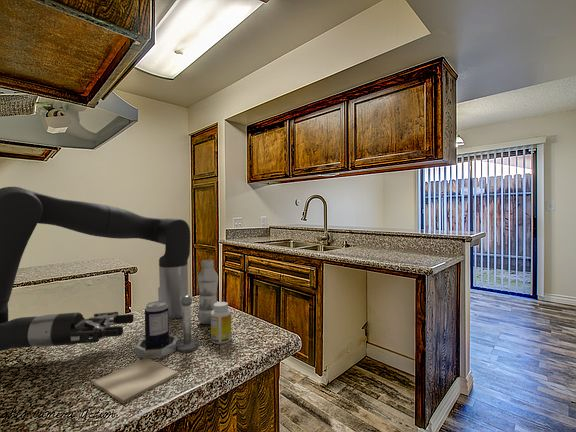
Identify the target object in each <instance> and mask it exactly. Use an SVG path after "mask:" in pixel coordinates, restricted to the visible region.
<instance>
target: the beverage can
mask: <svg viewBox="0 0 576 432" xmlns="http://www.w3.org/2000/svg"><path fill="white" fill-rule="evenodd" d="M169 320H170V319H169V314H168V306H167V303H166V302H165V301H159V300H157V301H151V302H148V303H147V304H146V306H145V309H144V333H145V334H144V339H145V347H144V348H145V349H155V348H162V347H164V346H167V345H169V344H170V343H169V334H170V328H169V326H170V325H169V324H170V323H169V322H170V321H169Z"/></svg>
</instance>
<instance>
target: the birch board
mask: <svg viewBox="0 0 576 432" xmlns="http://www.w3.org/2000/svg"><path fill="white" fill-rule="evenodd" d="M176 376H178V371H176V370H173V369H172V368H169V367H167V366H165V365H163V364H161V363H158V362H156V361H154V360H152V359H151V358H149V359H148V358H145V359H144V358H142V359H140V360H138V361H136V362H134V363H131V364H128V365H127V366H124V367H122V368H120V369H118V370H115V371H113V372H111V373H109V374H107V375H104V376H102V377H99V378H96V379H95V380H93V381H92V384H93V385H94V386H95V387H97V388H98V389H100V390H101V391H103V392H105V393H107V394H108V395H109V396H111V397H113V398H114V399H116V400H117V401H119V402H120V403H121V404H124V405H125V404H126V403H127V402H129V401H131V400H134V399H135V398H136V397H138V396H140V395H142V394H144V393H146V392H147V391H150V390H151V389H154V388H156V387H157V386H159V385H161V384H163V383H165V382H166V381H168V380H170V379H173V378H174V377H176Z"/></svg>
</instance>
